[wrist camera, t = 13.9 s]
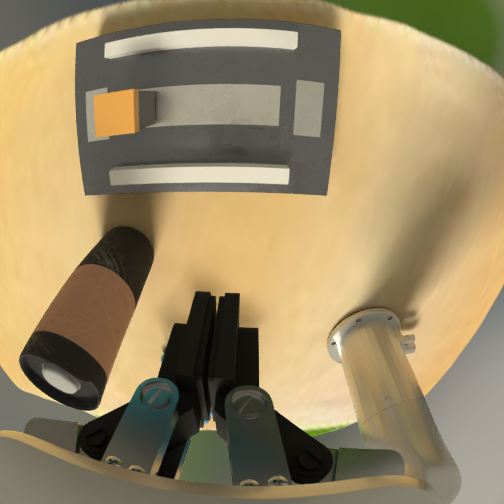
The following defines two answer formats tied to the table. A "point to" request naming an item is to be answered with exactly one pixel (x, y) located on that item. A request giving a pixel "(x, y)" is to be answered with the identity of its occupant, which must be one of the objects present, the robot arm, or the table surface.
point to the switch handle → (123, 112)
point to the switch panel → (213, 107)
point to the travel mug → (89, 321)
